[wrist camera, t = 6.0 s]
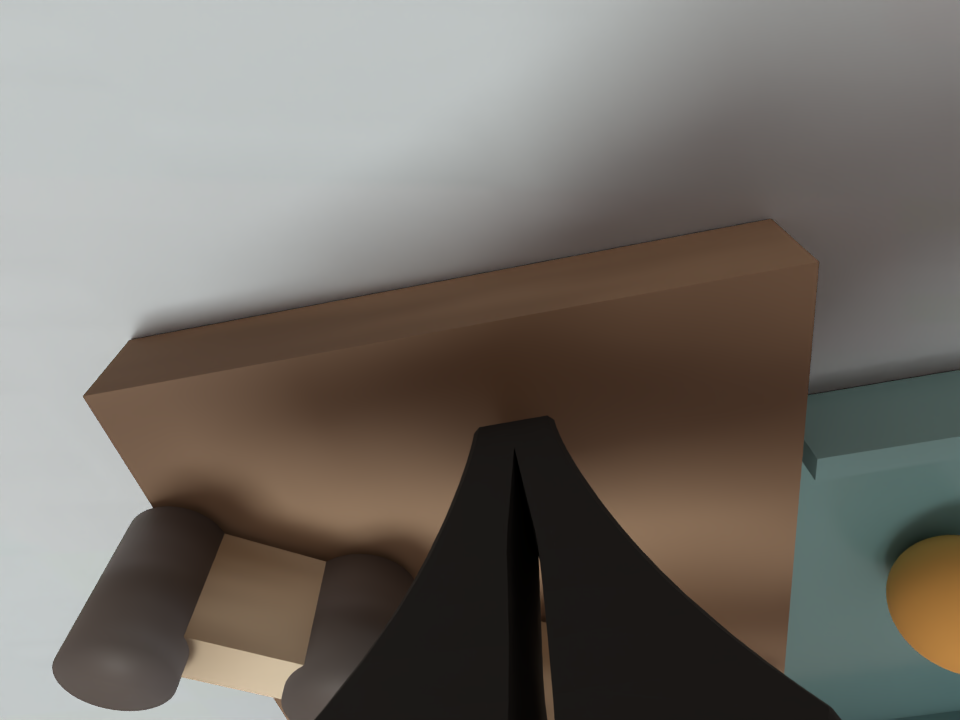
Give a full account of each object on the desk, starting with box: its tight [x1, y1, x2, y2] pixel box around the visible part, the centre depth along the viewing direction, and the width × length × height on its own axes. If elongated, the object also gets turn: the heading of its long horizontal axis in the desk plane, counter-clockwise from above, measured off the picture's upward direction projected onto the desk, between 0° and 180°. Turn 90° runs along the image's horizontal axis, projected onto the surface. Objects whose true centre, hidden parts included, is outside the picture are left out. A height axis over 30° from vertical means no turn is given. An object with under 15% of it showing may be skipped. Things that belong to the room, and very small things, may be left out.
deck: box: [83, 219, 819, 720], centre depth 17 cm, size 18×13×2 cm
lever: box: [52, 506, 555, 720], centre depth 14 cm, size 15×2×3 cm, turn 65°
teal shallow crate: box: [784, 370, 960, 720], centre depth 17 cm, size 14×8×3 cm, turn 11°
